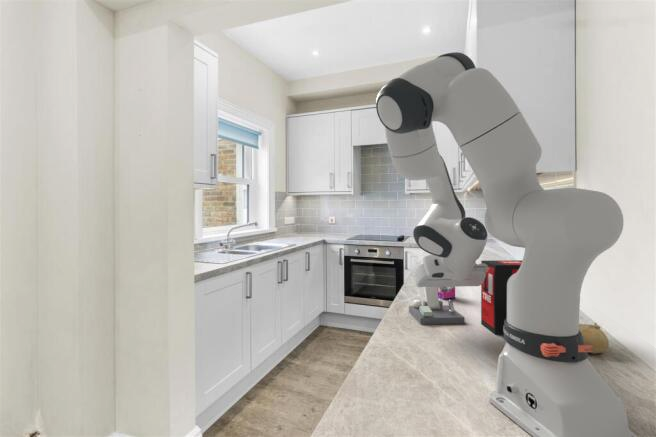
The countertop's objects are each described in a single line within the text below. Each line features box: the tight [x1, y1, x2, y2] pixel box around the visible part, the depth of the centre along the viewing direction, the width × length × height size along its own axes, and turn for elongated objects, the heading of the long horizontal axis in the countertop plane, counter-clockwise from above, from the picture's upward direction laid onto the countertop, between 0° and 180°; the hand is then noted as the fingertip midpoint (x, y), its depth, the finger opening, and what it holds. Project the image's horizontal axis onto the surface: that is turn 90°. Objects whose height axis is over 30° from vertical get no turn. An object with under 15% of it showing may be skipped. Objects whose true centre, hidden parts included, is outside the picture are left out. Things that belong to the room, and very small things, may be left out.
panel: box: [408, 300, 466, 325], centre depth 107 cm, size 13×14×5 cm
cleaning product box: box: [480, 259, 523, 336], centre depth 95 cm, size 16×9×20 cm, turn 88°
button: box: [412, 299, 423, 308], centre depth 111 cm, size 3×3×2 cm
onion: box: [579, 322, 610, 355], centre depth 81 cm, size 8×8×7 cm
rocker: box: [419, 305, 432, 316], centre depth 103 cm, size 4×3×1 cm
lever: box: [423, 287, 440, 309], centre depth 111 cm, size 2×4×12 cm, turn 92°
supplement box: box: [437, 287, 456, 301], centre depth 131 cm, size 6×6×12 cm
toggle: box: [448, 299, 457, 313], centre depth 105 cm, size 1×2×4 cm, turn 92°
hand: (442, 290), depth 102 cm, fingers closed
